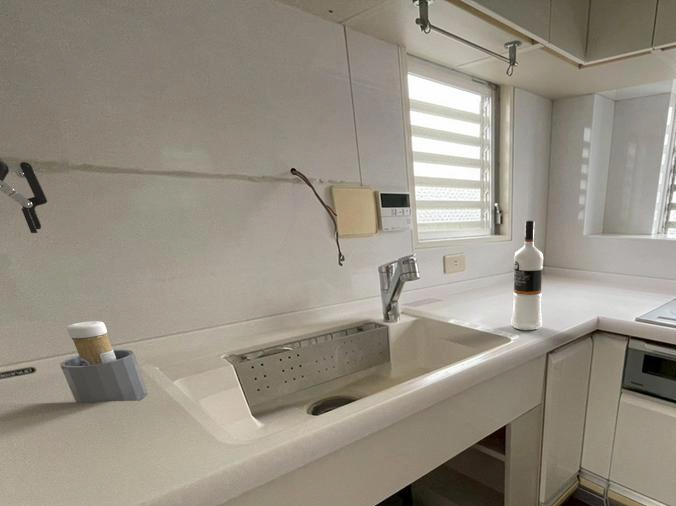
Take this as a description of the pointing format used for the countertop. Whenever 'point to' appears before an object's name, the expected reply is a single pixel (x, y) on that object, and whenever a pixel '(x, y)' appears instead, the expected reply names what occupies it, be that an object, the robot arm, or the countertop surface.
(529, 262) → the vodka
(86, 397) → the blue-grey round container
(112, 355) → the sprinkles bottle
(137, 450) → the countertop surface
